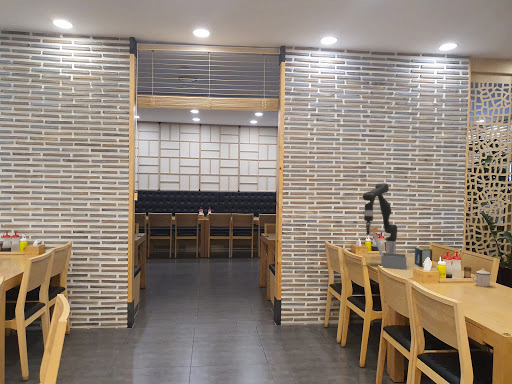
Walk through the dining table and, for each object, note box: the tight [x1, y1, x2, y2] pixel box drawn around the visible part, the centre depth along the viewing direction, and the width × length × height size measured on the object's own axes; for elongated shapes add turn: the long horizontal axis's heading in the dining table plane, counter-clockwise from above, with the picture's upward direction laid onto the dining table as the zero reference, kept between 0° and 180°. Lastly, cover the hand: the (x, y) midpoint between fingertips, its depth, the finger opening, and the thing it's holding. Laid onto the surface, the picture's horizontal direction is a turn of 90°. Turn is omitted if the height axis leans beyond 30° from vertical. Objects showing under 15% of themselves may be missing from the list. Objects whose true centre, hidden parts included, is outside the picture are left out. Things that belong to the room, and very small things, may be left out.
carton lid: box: [369, 226, 384, 256], centre depth 351 cm, size 18×24×8 cm
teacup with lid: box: [471, 268, 491, 288], centre depth 282 cm, size 12×9×12 cm
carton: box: [380, 252, 408, 270], centre depth 346 cm, size 18×20×10 cm
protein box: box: [414, 246, 433, 268], centre depth 353 cm, size 10×15×16 cm
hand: (368, 234), depth 353 cm, fingers open, 6 cm apart
